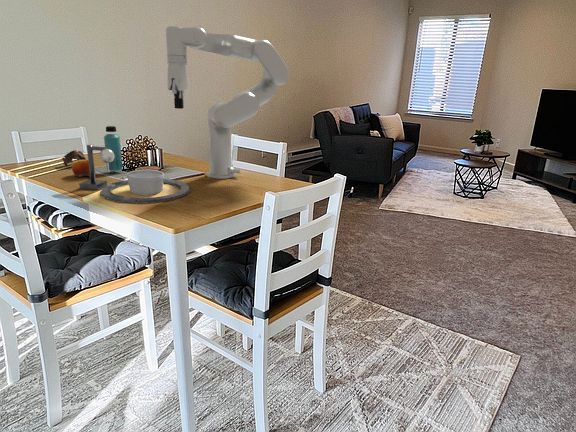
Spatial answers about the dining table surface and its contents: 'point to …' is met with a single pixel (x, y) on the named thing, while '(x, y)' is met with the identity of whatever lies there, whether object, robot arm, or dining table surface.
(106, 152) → the dial gauge stand
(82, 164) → the fruit
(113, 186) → the ring
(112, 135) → the beverage bottle
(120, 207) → the dining table surface
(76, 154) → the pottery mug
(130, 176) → the ramekin
